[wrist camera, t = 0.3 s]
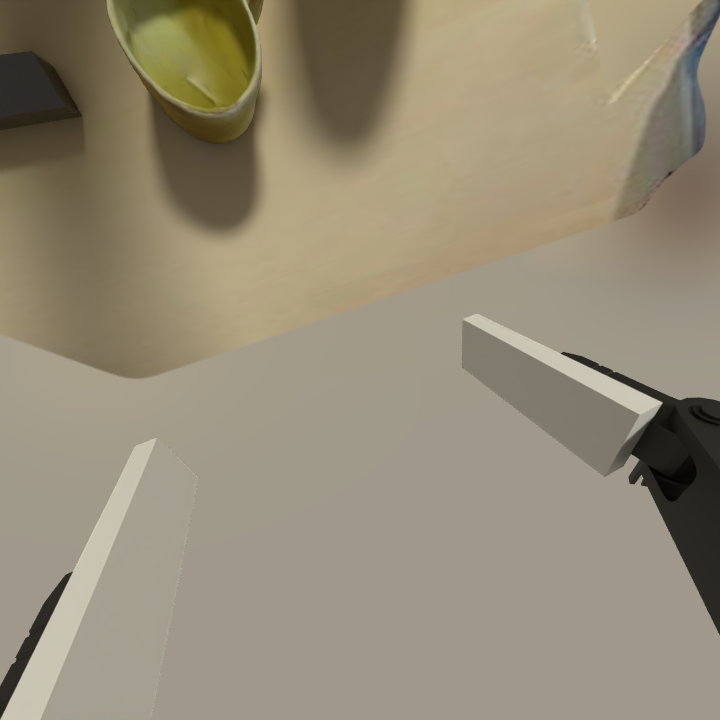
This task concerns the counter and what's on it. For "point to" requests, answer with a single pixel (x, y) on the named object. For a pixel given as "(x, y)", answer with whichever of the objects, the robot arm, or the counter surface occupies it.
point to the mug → (195, 59)
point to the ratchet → (31, 92)
